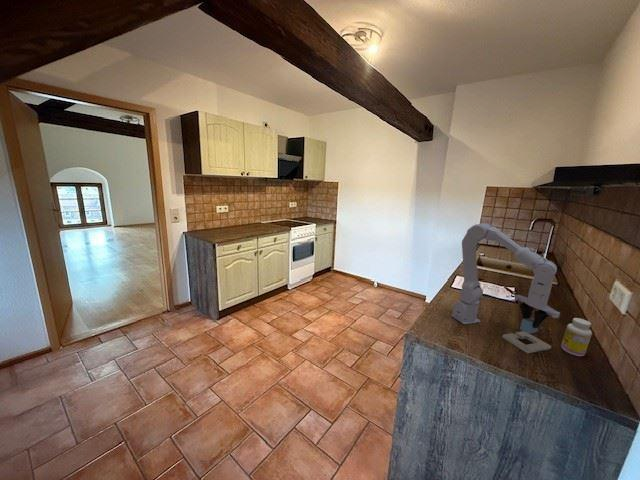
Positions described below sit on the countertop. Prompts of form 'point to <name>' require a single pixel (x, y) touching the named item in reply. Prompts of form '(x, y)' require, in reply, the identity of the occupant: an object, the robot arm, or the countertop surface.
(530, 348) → the plate
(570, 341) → the supplement bottle
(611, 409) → the countertop surface
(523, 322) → the block
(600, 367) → the countertop surface
